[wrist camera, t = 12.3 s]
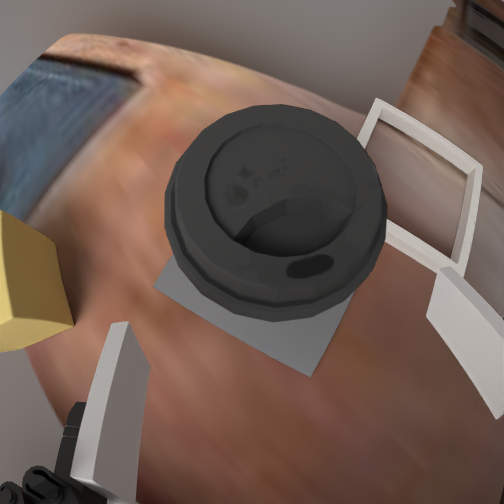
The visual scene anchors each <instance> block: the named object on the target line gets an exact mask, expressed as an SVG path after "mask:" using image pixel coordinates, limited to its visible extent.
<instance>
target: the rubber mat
mask: <svg viewBox="0 0 504 504" xmlns="http://www.w3.org/2000/svg"><path fill="white" fill-rule="evenodd" d="M153 287H154V288H156V289H157V290H159V291H160V292H162V293H164V294H165V295H167V296H168V297H170V298H171V299H173V300H175V301H176V302H178V303H179V304H181V305H182V306H184V307H186V308H187V309H189V310H191V311H192V312H194V313H195V314H197V315H199V316H200V317H202V318H204V319H205V320H207V321H209V322H210V323H212V324H214V325H215V326H217V327H219V328H220V329H222V330H224V331H226V332H227V333H229V334H231V335H233V336H234V337H236V338H238V339H240V340H241V341H243V342H245V343H247V344H248V345H250V346H252V347H254V348H256V349H257V350H259V351H261V352H263V353H265V354H267V355H268V356H270V357H272V358H274V359H276V360H278V361H280V362H282V363H283V364H285V365H287V366H289V367H291V368H293V369H295V370H297V371H299V372H301V373H303V374H305V375H307V376H309V377H311V375H312V373H313V372H314V370H315V368H316V366H317V365H318V363H319V361H320V359H321V357H322V355H323V354H324V352H325V350H326V348H327V346H328V344H329V342H330V340H331V338H332V337H333V335H334V333H335V331H336V329H337V327H338V325H339V323H340V321H341V319H342V317H343V315H344V313H345V311H346V309H347V307H348V305H349V302H350V300H351V298H352V296H353V294H354V292H355V291H354V292H353V293H352V294H351V295H350V296H349V297H348V298H347V299H346V300H345V301H344V302H342V303H340V304H338V305H336V306H334V307H332V308H330V309H328V310H326V311H324V312H322V313H320V314H318V315H316V316H314V317H312V318H305V319H297V320H289V321H281V322H269V321H264V320H259V319H254V318H250V317H245V316H240V315H236V314H233V313H232V312H230V311H228V310H227V309H225V308H223V307H221V306H220V305H218V304H216V303H215V302H213V301H211V300H210V299H208V298H207V297H205V296H203V295H202V294H201V293H200V292H199V291H198V290H197V289H196V287H195V286H194V285H193V284H192V283H191V281H190V280H189V279H188V278H187V277H186V275H185V274H184V273H183V272H182V271H181V269H180V268H179V267H178V265H177V262H176V259H175V257H174V254H173V255H172V257H171V258H170V260H169V261H168V263H167V265H166V266H165V268H164V269H163V271H162V273H161V274H160V276H159V278H158V279H157V281H156V283H155V284H154V286H153Z"/></svg>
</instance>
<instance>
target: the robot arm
mask: <svg viewBox="0 0 504 504" xmlns="http://www.w3.org/2000/svg"><path fill="white" fill-rule="evenodd" d="M426 317H427V318H428V320H429V321H430V322H431V324H432V325H433V326H434V328H435V329H436V330H437V332H438V333H439V334H440V336H441V337H442V339H443V340H444V341H445V343H446V344H447V345H448V347H449V348H450V350H451V351H452V352H453V354H454V355H455V357H456V358H457V360H458V361H459V362H460V364H461V365H462V367H463V368H464V370H465V371H466V373H467V374H468V376H469V377H470V379H471V380H472V382H473V383H474V385H475V386H476V388H477V390H478V391H479V393H480V394H481V396H482V397H483V399H484V401H485V402H486V404H487V405H488V407H489V409H490V410H491V412H492V414H493V415H494V417H495V419H498V418H499V417H501V416H502V415H504V318H503V319H502V318H501V317H500V316H499V315H498V313H497V312H496V311H495V310H494V309H493V308H492V307H491V306H490V305H489V304H488V303H487V302H486V301H485V300H484V299H483V298H482V297H481V295H480V294H479V293H478V292H477V291H476V290H475V289H474V288H473V287H472V286H471V285H470V284H469V283H468V282H467V281H466V280H465V279H464V278H463V277H461V276H460V275H459V274H458V273H457V272H456V271H455V270H454V269H453V268H452V267H451V266H448V267H444V268H440V269H438V272H437V277H436V281H435V285H434V289H433V292H432V296H431V300H430V304H429V307H428V311H427V314H426ZM150 368H151V366H150V364H149V362H148V361H147V359H146V357H145V355H144V353H143V351H142V349H141V347H140V345H139V342H138V340H137V338H136V336H135V334H134V332H133V330H132V328H131V326H130V323H129V321H128V322H117V323H112V324H111V327H110V330H109V333H108V335H107V338H106V341H105V344H104V347H103V350H102V353H101V356H100V360H99V363H98V366H97V369H96V372H95V376H94V379H93V382H92V386H91V389H90V393H89V396H88V400H87V402H76V403H75V405H74V406H73V408H72V409H71V411H70V412H69V414H68V418H67V421H66V428H65V429H64V432H63V438H62V440H61V444H60V448H59V452H58V457H57V461H56V466H55V471H54V473H52V472H51V471H50V470H48V469H47V468H45V467H43V466H34V467H31V468H30V469H29V470H28V471H27V472H26V473H25V475H24V477H23V482H22V486H23V487H22V488H21V487H20V486H18V485H17V484H15V483H13V482H8V481H7V482H5V483H3V484H2V485H1V486H0V504H107V500H109V501H111V502H113V503H115V504H135V499H136V484H137V471H138V460H139V450H140V440H141V431H142V423H143V415H144V408H145V400H146V393H147V387H148V380H149V374H150ZM500 504H504V488H503V492H502V496H501V500H500Z"/></svg>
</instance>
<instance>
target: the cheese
mask: <svg viewBox="0 0 504 504" xmlns="http://www.w3.org/2000/svg"><path fill="white" fill-rule="evenodd" d="M72 327H74V323H73V319H72V315H71V311H70V307H69V304H68V300H67V297H66V293H65V289H64V286H63V282H62V278H61V273H60V268H59V263H58V257H57V251H56V245H55V243H54V242H53V241H52V240H50V239H49V238H48V237H46V236H45V235H43V234H42V233H40V232H39V231H37V230H35V229H33V228H32V227H30V226H28V225H26V224H25V223H23V222H22V221H20V220H19V219H17V218H15V217H14V216H12V215H10V214H8V213H6V212H4V211H2V210H1V211H0V352H5V351H11V350H18V349H21V348H24V347H26V346H29V345H32V344H34V343H37V342H39V341H42V340H44V339H46V338H48V337H51V336H53V335H55V334H57V333H60V332H62V331H65V330H67V329H70V328H72Z"/></svg>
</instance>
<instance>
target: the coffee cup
mask: <svg viewBox="0 0 504 504" xmlns="http://www.w3.org/2000/svg"><path fill="white" fill-rule="evenodd" d="M386 225H387V203H386V200H385V196H384V193H383V189H382V186H381V182H380V179H379V176H378V174H377V171H376V167H375V164H374V163H373V161H372V160H371V158H370V157H369V155H368V154H367V152H366V151H365V149H364V148H363V146H362V145H361V144H360V142H359V141H358V140H357V139H356V138H355V137H354V136H352V135H351V134H350V133H349V132H348V131H347V130H345V129H344V128H343V127H342V126H341V125H339V124H338V123H337V122H335V121H333V120H331V119H329V118H327V117H325V116H323V115H321V114H318V113H316V112H314V111H312V110H309V109H304V108H299V107H294V106H289V105H283V104H278V105H259V106H251V107H248V108H245V109H242V110H239V111H236V112H232V113H229V114H226V115H225V116H223V117H222V118H220V119H219V120H217V121H216V122H214V123H213V124H211V125H210V126H208V127H207V128H205V129H204V130H203V131H202V132H201V133H200V134H199V135H198V137H197V138H196V139H195V140H194V141H193V142H192V144H191V145H190V146H189V147H188V149H187V150H186V151H185V152H184V154H183V155H182V156H181V157H180V159H179V160H178V161H177V162H176V164H175V167H174V169H173V172H172V175H171V177H170V180H169V183H168V186H167V189H166V191H165V230H166V235H167V237H168V240H169V243H170V246H171V249H172V251H173V254H174V257H175V259H176V262H177V265H178V267H179V268H180V269H181V271H182V272H183V273H184V274H185V275H186V277H187V278H188V279H189V280H190V281H191V283H192V284H193V285H194V286H195V287H196V289H197V290H198V291H199V292H200V293H201V294H202V295H203V296H205V297H207V298H208V299H210V300H211V301H213V302H215V303H216V304H218V305H220V306H221V307H223V308H225V309H227V310H228V311H230V312H232V313H233V314H236V315H240V316H245V317H250V318H254V319H259V320H264V321H269V322H281V321H289V320H297V319H305V318H312V317H314V316H316V315H318V314H320V313H322V312H324V311H326V310H328V309H330V308H332V307H334V306H336V305H338V304H340V303H342V302H344V301H345V300H346V299H347V298H348V297H349V296H350V295H351V294H352V293H353V292H354V291H355V290H356V289H357V288H358V286H359V285H360V284H361V283H362V282H363V281H364V280H365V279H366V278H367V277H368V275H369V274H370V272H371V271H372V270H373V268H374V266H375V263H376V261H377V259H378V256H379V254H380V251H381V249H382V247H383V244H384V242H385V239H386Z"/></svg>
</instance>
